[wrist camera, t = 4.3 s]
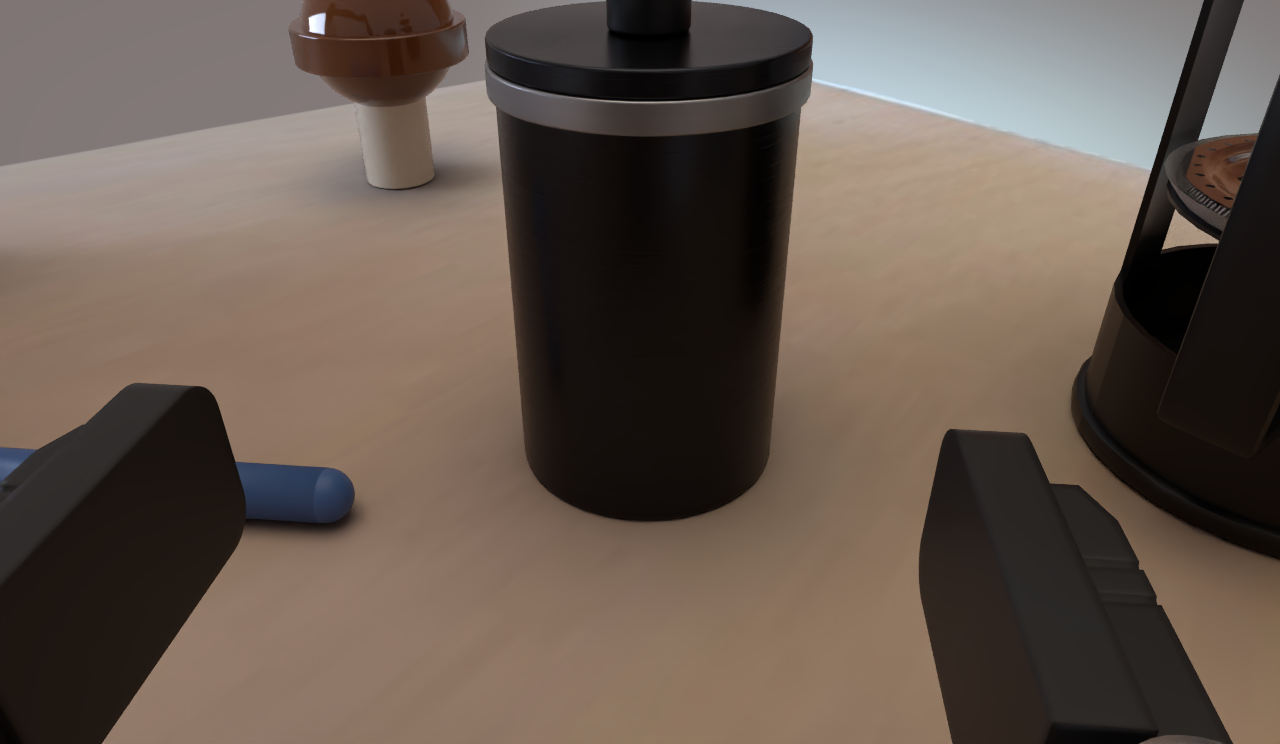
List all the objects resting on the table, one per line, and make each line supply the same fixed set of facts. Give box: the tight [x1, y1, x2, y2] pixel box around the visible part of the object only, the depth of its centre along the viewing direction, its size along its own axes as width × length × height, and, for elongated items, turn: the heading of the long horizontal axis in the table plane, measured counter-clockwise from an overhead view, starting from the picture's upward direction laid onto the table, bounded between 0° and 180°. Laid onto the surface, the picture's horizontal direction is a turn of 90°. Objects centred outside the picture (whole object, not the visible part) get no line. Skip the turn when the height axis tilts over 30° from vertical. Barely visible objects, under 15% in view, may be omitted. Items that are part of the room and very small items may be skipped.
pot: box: [485, 0, 813, 520], centre depth 20 cm, size 6×6×11 cm
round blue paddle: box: [0, 447, 355, 523], centre depth 20 cm, size 14×4×1 cm, turn 84°
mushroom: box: [288, 0, 469, 189], centre depth 36 cm, size 7×7×9 cm
